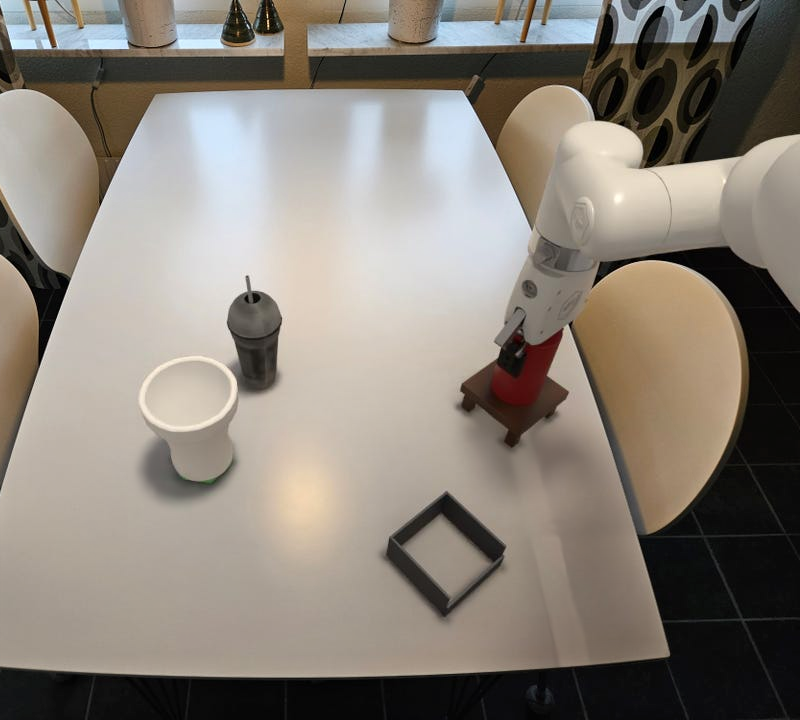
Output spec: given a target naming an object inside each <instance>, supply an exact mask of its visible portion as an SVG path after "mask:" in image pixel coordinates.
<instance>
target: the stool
mask: <svg viewBox="0 0 800 720" xmlns="http://www.w3.org/2000/svg"><path fill="white" fill-rule="evenodd" d="M497 359H498V357H497V358H495V359H494V360H492V361H491V362H490V363H489V364H487V365H485V366H484V367H483V368H481V369H479V371H477V372H476V373H474V374H473V375H472V376H470V377H469V378H467V379H466V380H464V381H463V382H461V385H460V388H459V392H460V393H462V394H463V398H462V402H461V405H460V407H461V408H462V409H463V410H464V411H465V412H467V413H468V414H469V413H471V411H473V410H474V409H475V408H476V406H478V407H479V408H481V409H482V410H483V411H484V412H486V413H487V414H488V415H489V416H490V417H492V418H493V419H494V420H496V421H497V422H498V423H499V424H501V425H502V426H503V427H504V428H505V429H506V430H507V431H506V434H505V437H504V440H503V443H505V444H506V445H507V446H508V447H509V448H510V449H513V448H514V447H516V446H517V445H518V444H519V443H520V440H521V438H522V435H524V434H525V433H526V432H527V431H529V430H530V429H531V428H533V426H535V425H536V424H538V422H540V421H541V420H543V418H545V419H546V420H548V419H550V418H551V417H552V416H554V414H555V412H556V410H557V408H558V407H559V406H560V405H561V404H562V403H563V402H564V401H566V400H567V398H568V396H569V395H570V391H569V390H568V389H566V388H565V387H564V386H563V385H561V384H559V383H558V382H556V381H555V380H554V379H552V377H549V376H548V375H547V377H546V379H545V382H544V384H543V387H542V389H541V392H540V394H539V397H538V398H537V400H536V401H534V402H533V403H531V404H529V405H524V406H516V405H511V404H508V403H506V402H504V401H502V400H500V399H499V398H498V397H497V396H496V395H495V394H494V392H493V391H492V388H491V379H492V376H493V373H494V369H495V366H496V363H497Z"/></svg>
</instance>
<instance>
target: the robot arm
mask: <svg viewBox="0 0 800 720" xmlns="http://www.w3.org/2000/svg"><path fill="white" fill-rule="evenodd" d="M643 146H644V145H643V143H642V141H641V139H640V138H639V136H637V134H636V133H635V132H633V131H632V130H631V129H629V128H628V127H625V126H623V125H620V124H617V123H615V122H610V121H604V120H589V121H583V122H580V123H577V124H574V125H573V126H571V127H570V128H568V129H567V130H566V131H565V133H564V134H563V135H562V136H561V139H560V141H559V143H558V146H557V148H556V152H555V155H554V158H553V162H552V164H551V169H550V172H549V175H548V177H547V182H546V184H545V188H544V191H543V195H542V198H541V202H540V205H539V209H538V212H537V215H536V218H535V221H534V224H533V227H532V231H531V235H530V237H529V241H528V244H527V253H528V255H527V256H526V259H525V261H524V263H523V265H522V267H521V270H520V271H519V274H518V276H517V279H516V281H515V284H514V286H513V288H512V291H511V294H510V297H509V300H508V303H507V306H506V309H505V314H504V316H503V325H504V326H503V327H502V329H500V331H499V333H498V334H497V335H496V337H495V338H494V340H493V343H494V344H495V345H497V346H498V347H500V350H499V354H498V356H497V358H498V359H497V358H496V359H497V365H498V366H499V367H500V368H502V369H503V370H504V371H506V372H507V373H508V374H510V375H511V376H512V377H514V378H517V377H518V376H519V375H520V373H521V370H522V367H523V365H524V362H525V359H526V356H527V355H526V354H525V351H526V349H527V348H528V346H529V344H531V345H537V344H540V343H542V342H544V341H545V340H547V339H548V338H550V337H551V336H552V335H554V334H555V333H557V332H558V331H559V330H561V329H562V330H563V331H564V329H565V327H566V326H568V325H569V324H570V323H571V322H573V321H574V320H576V319H577V318H578V317H579V316H580V315H581V314H582V313H583V311H584V310H585V307H586V304H587V302H588V299H589V296H590V294H591V292H592V288H593V286H594V282H595V279H596V277H597V273H598V270H599V266H600V263H601V262H605V263H606V262H614V261H615V262H616V261H623V260H628V259H629V260H630V259H635V258H641V257H648V256H651V255H657V254H666V253H674V252H680V251H688V250H697V249H703V248H715V247H717V248H718V247H729V248H730V249H731V251H732V252H733V253H734V254H735V255H736V256H737V257H738V258H740V260H743V261H744V262H746V263H748V264H750V265H751V266H754V267H757V268H761V269H767V272H768V273H769V275H770V276H771V278H772V279H773V281H774V283H776V284H777V286H778V287H779V288H780V289H781V291H782V293H784V296H786V297H787V299H788V301H789V302H790V303H791V304H792V306H793V307H794V308H795V310H797V312H798V313H799V314H800V133H799V134H792V135H786V136H780V137H774V138H771V139H768V140H765V141H763V142H760V143H759V144H757V145H755V146H754V147H752V148H751V149H750V150H749V151H747V152H746V153H745V154H743V155H742V156H735V157H728V158H721V159H714V160H706V161H697V162H687V163H679V164H670V165H662V166H654V167H646V168H640V166H641V164H642V160H643V156H644V147H643ZM522 326H523V327H522ZM516 333H517V334H519V335H520V336H522V337H523V338H524V339H523V341H522V342H521V344H520V346H519V345H517V344H516V343H514V342H513V341H512V339H513V337H514V336H515V335H516Z"/></svg>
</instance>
